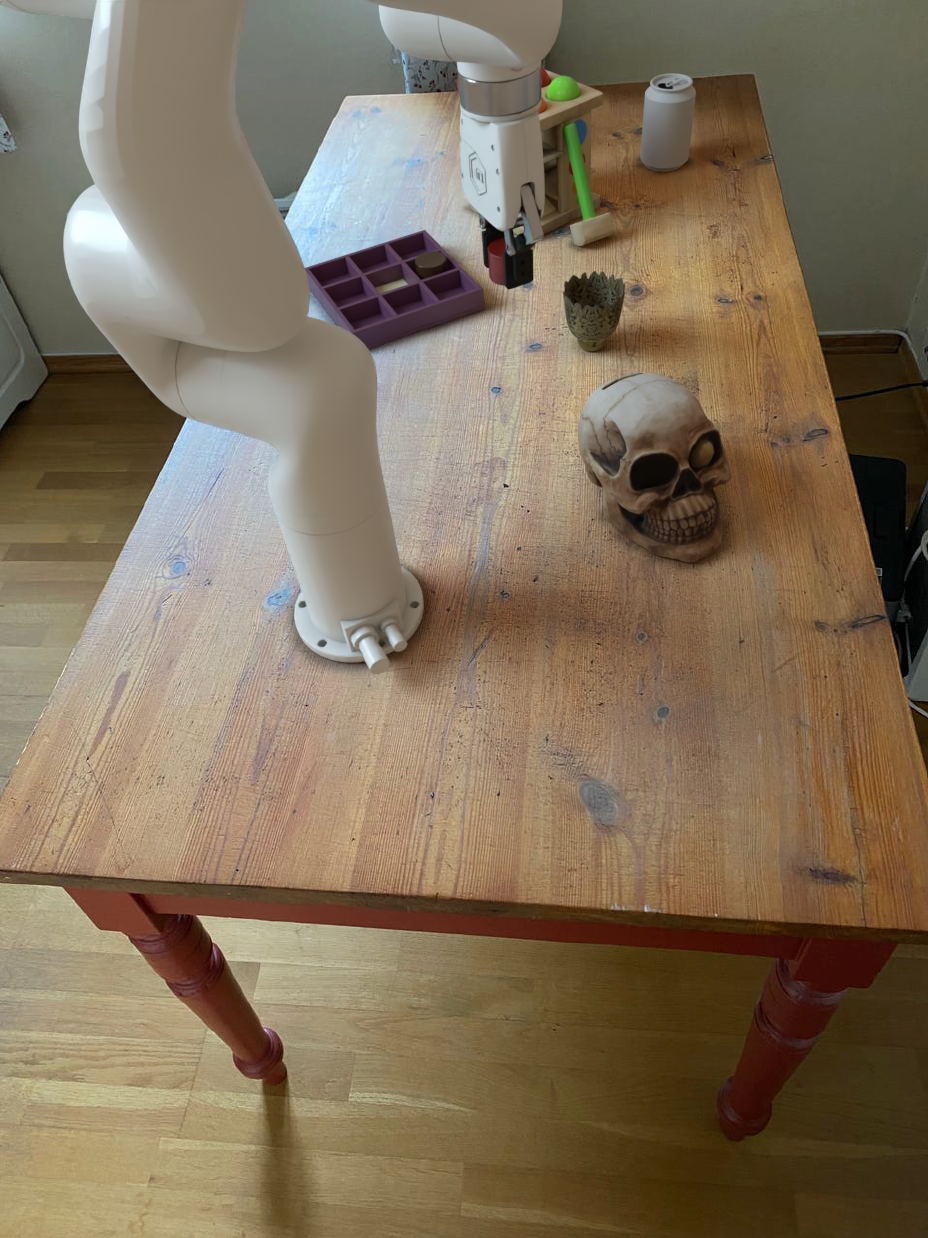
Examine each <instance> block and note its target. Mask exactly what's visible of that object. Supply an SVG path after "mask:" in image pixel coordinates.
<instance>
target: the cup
mask: <svg viewBox="0 0 928 1238" xmlns="http://www.w3.org/2000/svg"><path fill="white" fill-rule="evenodd" d="M587 275H588V274H587V272H586V271H584V272H582V274H581V276H580V277H578V276H577V275H575V274H573V275H571V276H570V278H569V279H568V280H565V281H564V283H563V288H564V291H562V295H563V306H564V314H565V320H566V324H567V327H568V329H569V332H570V333H571V334H572V335H573V336H574V337H575V338H576V341H577V344H578V346H579V347H580V349H582V350H584V351H586V352H597V351H600V350H602V349H603V348H604V347H605V346H606V344H607V342H608V339H609V337H611V336H612V335H613V334H614V333H615V332H616V330H617V328H618V326H619V323H620V320H621V315H622V311H623V306H624V300H625V295H626V292H625V290H626V283H624V281H623V278H622V277H618V278H616V277H615V274H614V273H611V274H610V276H609V277H608V276H607V275H606V274H605V272H604V271H600V273H599V274H598V273H597V271H596V270H594V271H592V272H591V273H590V275H589V276H587ZM615 278H616V279H615Z"/></svg>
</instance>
